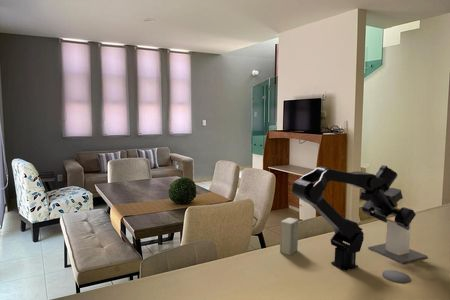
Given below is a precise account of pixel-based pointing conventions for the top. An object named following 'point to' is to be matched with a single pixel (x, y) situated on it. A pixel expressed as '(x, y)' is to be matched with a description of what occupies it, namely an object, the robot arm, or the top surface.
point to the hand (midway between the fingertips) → (397, 225)
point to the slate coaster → (396, 276)
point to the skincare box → (289, 236)
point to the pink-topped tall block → (397, 238)
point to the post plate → (399, 258)
